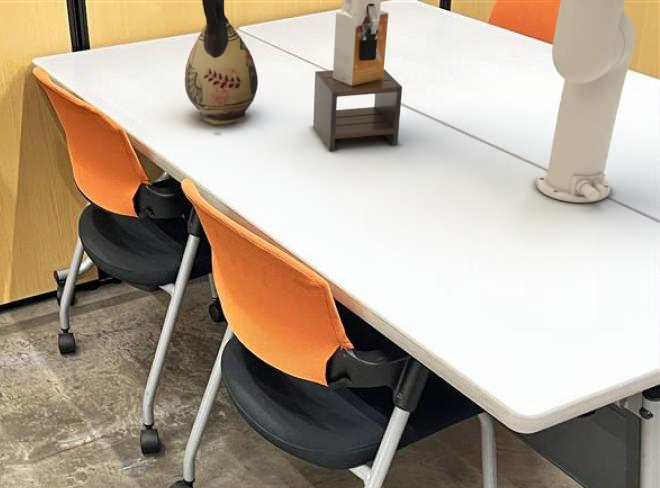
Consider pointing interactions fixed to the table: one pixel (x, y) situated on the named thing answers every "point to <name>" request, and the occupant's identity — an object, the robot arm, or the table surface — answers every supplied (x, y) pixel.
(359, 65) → the small box
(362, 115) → the rack
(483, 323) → the table surface
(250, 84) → the ceramic jug
